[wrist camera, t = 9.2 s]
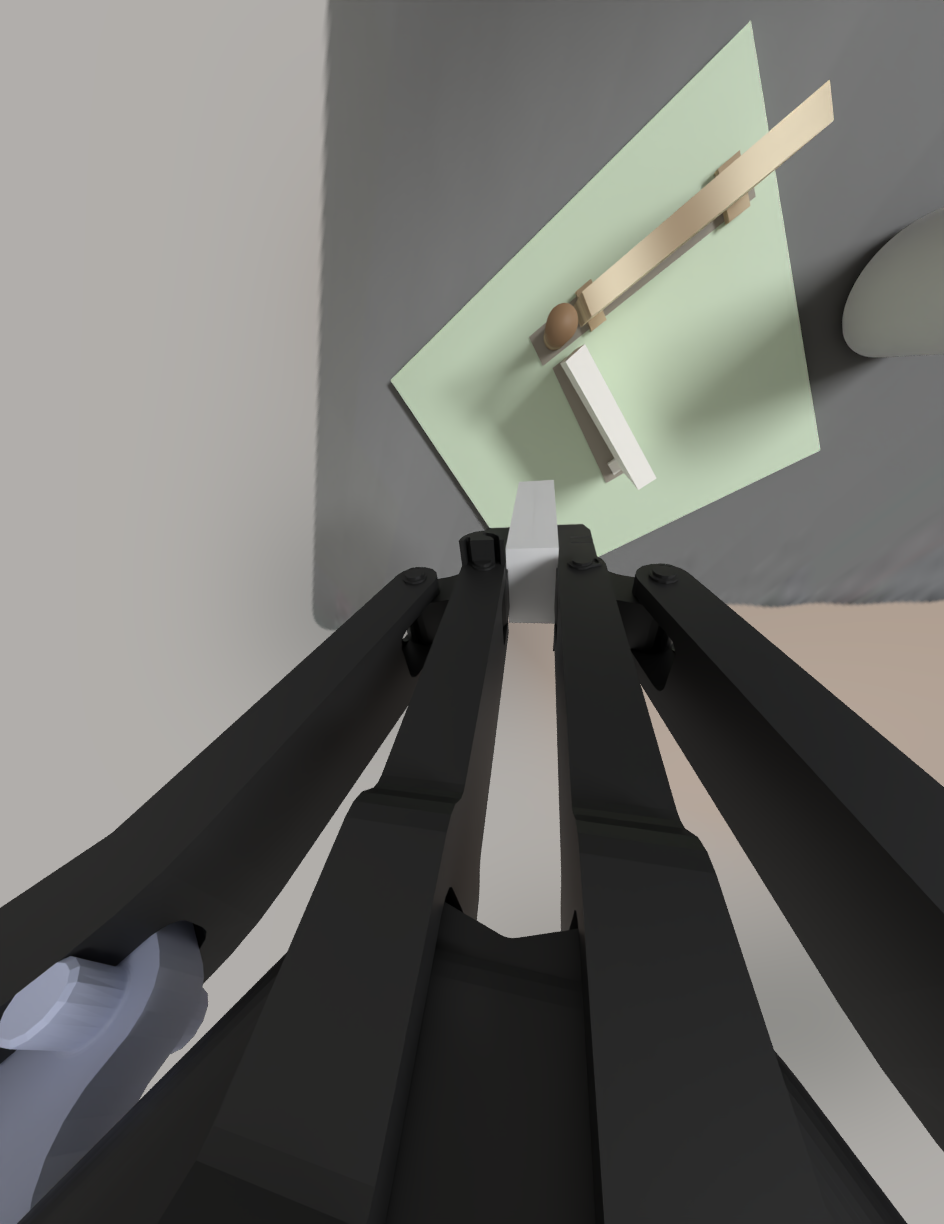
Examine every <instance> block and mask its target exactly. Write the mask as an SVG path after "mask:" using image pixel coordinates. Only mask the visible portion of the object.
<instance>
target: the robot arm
mask: <svg viewBox="0 0 944 1224" xmlns="http://www.w3.org/2000/svg"><path fill="white" fill-rule="evenodd" d="M459 545H460V552H461V560H462V568H461V570H460V573H459V574H458V575H455V576H451V577H447V578H441V579H437V574H436V572H435V571H434V570H433V569H430V568H426V567H415V568H410V569H409V570H406V571H403V572H402V573H400V574H399V575H397V576H396V577H395V578H394V579H393V580H392V581H390V582H389V583H388V584H387V585H386V586H385V587H384V588H383V589H382V590H380V591H379V592H378V593H377V594H376V595H375V596H374V597H373V598H372V599H371V600H369V601H368V602H367V603H366V604H365V605H364V606H363V607H362V608H361V609H359V610H358V611H357V612H356V613H355V614H354V615H353V616H352V617H351V618H349V619H348V620H347V621H346V622H345V623H344V624H343V625H342V626H341V627H340V628H338V629H337V630H336V631H335V632H334V633H333V634H332V635H331V636H330V637H328V638H327V639H326V640H325V641H324V642H323V643H322V644H321V645H320V646H318V647H317V648H316V649H315V650H314V651H313V652H312V653H311V654H310V655H309V656H307V657H306V658H305V659H304V660H303V661H302V662H301V663H300V664H299V665H297V666H296V667H295V668H294V669H293V670H292V671H291V672H290V673H289V674H287V675H286V676H285V677H284V678H283V679H282V680H281V681H280V682H279V683H278V684H276V685H275V686H274V687H273V688H272V689H271V690H270V691H269V692H268V693H267V694H265V695H264V696H263V697H262V698H261V699H260V700H259V701H258V702H257V703H255V704H254V705H253V706H252V707H251V708H250V709H249V710H248V711H247V712H246V713H244V714H243V715H242V716H241V717H240V718H239V719H238V720H237V721H235V723H233V724H232V725H231V726H230V727H229V728H228V729H227V730H226V731H224V732H223V733H222V734H221V735H220V736H219V737H218V738H217V739H216V740H214V741H213V742H212V743H211V744H210V745H209V746H208V747H207V748H206V749H204V750H203V751H202V752H201V753H200V754H199V755H198V756H197V757H196V758H194V759H193V760H192V761H191V762H190V763H189V764H188V765H187V766H186V767H184V768H183V770H181V771H180V772H179V773H178V774H177V775H176V776H175V777H174V778H172V779H171V780H170V781H169V782H168V783H167V784H166V785H165V786H164V787H162V788H161V789H160V790H159V791H158V792H157V793H156V794H155V795H153V796H152V797H151V798H150V799H149V800H148V801H147V802H146V803H145V804H144V805H143V806H141V807H140V808H139V809H138V810H137V811H136V812H135V813H134V814H132V815H131V816H130V817H129V818H128V819H127V820H126V821H125V822H124V823H123V824H121V825H120V826H119V827H118V828H117V829H116V830H115V831H114V832H113V833H111V834H110V835H108V836H107V837H105V838H104V839H102V840H101V841H100V842H98V843H96V844H95V845H94V846H92V847H91V848H89V849H88V850H86V851H85V852H83V853H82V854H80V855H79V856H77V857H76V858H74V859H73V860H71V861H70V862H68V863H67V864H65V865H64V866H62V867H61V868H59V869H58V870H56V871H55V872H53V873H52V874H50V875H49V876H47V877H46V878H44V879H43V880H41V881H40V882H38V883H37V884H35V885H34V886H32V887H31V888H29V889H28V890H26V891H25V892H23V893H22V894H20V895H19V896H17V897H16V898H14V899H13V900H11V901H10V902H8V903H7V904H5V905H4V906H3V907H1V908H0V1224H907V1223H906V1221H905V1220H904V1219H903V1218H902V1216H901V1215H900V1214H899V1212H898V1211H897V1210H896V1208H895V1207H894V1206H893V1204H892V1203H891V1202H890V1200H889V1199H888V1198H887V1196H886V1195H885V1194H884V1192H883V1191H882V1190H881V1188H880V1187H879V1186H878V1185H877V1183H876V1182H875V1180H874V1179H873V1178H872V1177H871V1175H870V1174H869V1173H868V1171H867V1170H866V1169H865V1167H864V1166H863V1165H862V1163H861V1162H860V1161H859V1159H858V1158H857V1157H856V1155H854V1153H853V1152H852V1150H851V1149H850V1147H849V1146H848V1145H847V1143H846V1142H845V1141H844V1140H843V1138H842V1137H841V1136H840V1134H839V1133H838V1132H837V1130H836V1129H835V1128H834V1126H833V1125H832V1124H831V1122H830V1121H829V1120H828V1118H827V1117H826V1116H825V1114H824V1113H823V1112H822V1110H821V1109H820V1108H819V1107H818V1105H817V1104H816V1103H815V1101H814V1100H813V1099H812V1097H811V1096H810V1095H809V1093H808V1092H807V1091H806V1089H805V1088H804V1087H803V1085H802V1084H801V1083H800V1082H799V1080H798V1079H797V1078H796V1076H795V1075H794V1074H793V1073H792V1071H791V1070H790V1069H789V1068H788V1066H787V1065H786V1064H785V1062H784V1061H783V1060H782V1059H781V1058H780V1057H779V1056H778V1055H777V1053H776V1052H775V1051H774V1049H773V1046H772V1043H771V1040H770V1037H769V1034H768V1031H767V1028H766V1025H765V1022H764V1018H763V1015H762V1012H761V1009H760V1006H759V1003H758V1000H757V997H756V994H755V991H754V988H753V985H752V982H751V979H750V976H749V973H748V970H747V967H746V964H745V961H744V958H743V954H742V952H741V948H740V945H739V942H738V939H737V936H736V933H735V930H734V927H733V924H732V921H731V918H730V915H729V912H728V909H727V906H726V903H725V900H724V897H723V894H722V891H721V887H720V884H719V882H718V878H717V875H716V873H715V870H714V868H713V865H712V863H711V860H710V858H709V855H708V853H707V851H706V849H705V848H704V846H703V845H702V843H701V841H700V840H699V838H698V837H697V836H695V835H694V834H692V833H691V832H689V831H688V830H686V829H685V828H684V826H683V824H682V823H681V821H680V818H679V815H678V813H677V810H676V806H675V803H674V800H673V796H672V793H671V789H670V786H669V782H668V778H667V775H666V772H665V768H664V765H663V761H662V758H661V754H660V751H659V747H658V744H657V740H656V737H655V734H654V730H653V727H652V723H651V719H650V716H649V713H648V709H647V706H646V702H645V699H644V695H643V692H642V688H641V686H642V687H643V689H644V690H645V692H646V693H647V695H648V697H649V698H650V700H651V702H652V703H653V705H654V707H655V708H656V710H657V711H658V713H659V715H660V716H661V718H662V719H663V721H664V723H665V724H666V726H667V727H668V729H669V731H670V732H671V734H672V735H673V737H674V739H675V740H676V742H677V743H678V745H679V747H680V748H681V750H682V752H683V753H684V755H685V756H686V758H687V760H688V761H689V763H690V765H691V766H692V767H693V769H694V771H695V772H696V774H697V776H698V777H699V779H700V780H701V782H702V784H703V786H704V787H705V788H706V790H707V792H708V794H709V795H710V797H711V798H712V800H713V802H714V803H715V805H716V807H717V808H718V810H719V811H720V813H721V815H722V816H723V818H724V819H725V821H726V823H727V824H728V826H729V827H730V829H731V830H732V832H733V834H734V835H735V837H736V839H737V840H738V842H739V844H740V845H741V847H742V848H743V850H744V852H745V853H746V855H747V856H748V858H749V860H750V861H751V863H752V864H753V866H754V868H755V869H756V871H757V873H758V874H759V876H760V877H761V879H762V881H763V882H764V884H765V886H766V887H767V889H768V890H769V892H770V893H771V895H772V897H773V898H774V900H775V902H776V903H777V905H778V906H779V908H780V910H781V911H782V913H783V915H784V916H785V918H786V919H787V921H788V923H789V924H790V926H791V927H792V929H793V931H794V932H795V934H796V936H797V937H798V938H799V940H800V942H801V944H802V945H803V947H804V948H805V950H806V952H807V953H808V955H809V956H810V958H811V960H812V961H813V963H814V964H815V966H816V968H817V969H818V971H819V973H820V974H821V976H822V977H823V979H824V981H825V982H826V984H827V986H828V987H829V989H830V990H831V992H832V994H833V995H834V997H835V998H836V1000H837V1002H838V1003H839V1005H840V1006H841V1008H842V1009H843V1011H844V1012H845V1014H846V1015H847V1017H848V1018H849V1020H850V1021H851V1023H852V1024H853V1026H854V1028H855V1029H856V1030H857V1032H858V1034H859V1035H860V1037H861V1038H862V1040H863V1041H864V1043H865V1044H866V1046H867V1047H868V1049H869V1050H870V1052H871V1053H872V1055H873V1056H874V1058H875V1059H876V1061H877V1062H878V1064H879V1065H880V1067H881V1068H882V1070H883V1071H884V1072H885V1074H886V1075H887V1076H888V1078H889V1079H890V1081H891V1082H892V1083H893V1084H894V1086H895V1087H896V1088H897V1090H898V1091H899V1093H900V1094H901V1095H902V1097H903V1098H904V1099H905V1101H906V1102H907V1104H908V1105H909V1106H910V1108H911V1109H912V1110H913V1112H914V1113H915V1114H916V1116H917V1117H918V1118H919V1120H920V1121H921V1122H922V1124H923V1125H924V1127H925V1128H926V1129H927V1131H928V1132H929V1133H930V1135H931V1136H932V1137H933V1139H934V1140H935V1142H936V1143H937V1144H938V1145H939V1147H940V1148H941V1149H942V1150H943V1151H944V787H943V786H942V785H940V784H939V783H938V782H937V781H936V780H935V779H933V778H932V777H931V776H930V775H929V774H928V773H926V772H925V771H924V770H923V769H922V768H920V767H919V766H918V765H917V764H915V763H914V762H913V761H912V760H911V759H910V758H908V757H907V756H906V755H905V754H904V753H903V752H901V751H900V750H899V749H898V748H897V747H895V746H894V745H893V744H892V743H891V742H889V741H888V740H887V739H886V738H885V737H883V736H882V735H881V734H880V733H879V732H877V731H876V730H875V729H874V728H872V726H870V725H869V724H868V723H867V722H866V721H864V720H863V719H862V718H861V717H860V716H858V715H857V714H856V713H855V712H854V711H852V710H851V709H850V708H849V707H847V705H845V704H844V703H843V702H842V701H841V700H839V699H838V698H837V697H836V696H834V695H833V694H832V693H831V692H830V691H828V690H827V689H826V688H825V687H824V686H823V685H822V684H820V683H819V682H818V681H817V680H816V679H814V678H813V677H812V676H811V675H810V674H808V673H807V672H806V671H805V670H804V669H802V668H801V667H800V666H799V665H798V664H796V663H795V662H794V661H793V660H792V659H791V658H789V657H788V656H787V655H786V654H785V653H783V652H782V651H781V650H780V649H779V648H777V647H776V646H775V645H774V644H772V643H771V642H770V641H769V640H768V639H767V638H766V637H764V636H763V635H762V634H761V633H760V632H758V631H757V630H756V629H755V628H754V627H752V626H751V625H750V624H749V623H748V622H746V621H745V620H744V619H743V618H742V617H740V616H739V615H738V614H737V613H736V612H734V611H733V610H732V609H731V608H730V607H729V606H727V605H726V604H725V603H724V602H723V601H721V600H720V599H719V598H718V597H717V596H715V595H714V594H713V593H712V592H711V591H710V590H708V589H707V588H706V587H705V586H704V585H702V584H701V583H700V582H699V581H698V580H696V579H695V578H694V577H693V576H692V575H690V574H689V573H688V572H686V571H684V570H683V569H681V568H678V567H675V566H673V565H669V564H666V565H665V564H650V565H646V566H642V567H641V568H639V569H637V571H636V574H635V577H629V576H623V575H618V574H615V573H612V572H609V571H608V570H607V566H606V564H605V562H604V561H603V560H602V559H601V558H599V557H597V554H596V550H595V546H594V543H593V539H592V535H591V531H590V529H589V528H587V527H586V526H585V525H583V524H567V525H557V516H556V503H555V489H554V480H541V481H524V482H519V484H518V489H517V494H516V499H515V504H514V509H513V514H512V519H511V524H510V527H505V528H488V529H487V530H485V531H479V532H473V533H470V534H467V535H465V536H463V537H462V538H461V539H460V540H459ZM508 616H509V622H512V623H513V622H514V623H553V624H555V625H554V645H553V651H555V679H556V714H557V747H558V778H559V779H558V780H559V811H560V843H561V844H560V847H561V931H560V932H553V933H547V934H540V935H533V936H527V937H520V938H507V937H504V936H502V935H500V934H498V933H497V932H495V931H493V930H492V929H490V928H488V927H486V926H485V925H483V924H481V923H480V922H478V921H477V911H478V902H479V883H480V880H479V878H480V873H479V872H480V857H481V848H482V840H483V833H484V824H485V817H486V809H487V801H488V793H489V784H490V777H491V768H492V761H493V753H494V745H495V737H496V728H497V720H498V712H499V705H500V697H501V689H502V681H503V673H504V664H505V656H506V649H507V641H508V633H509V632H508V631H509V630H508ZM406 630H407V633H408V634H407V635H406V637H405V638H404V639H403V636H404V634H405V632H406ZM640 684H641V685H640ZM407 706H408V708H407ZM406 708H407V710H406V713H405V716H404V718H403V721H402V724H401V726H400V729H399V731H398V734H397V736H396V739H395V742H394V744H393V747H392V749H391V752H390V755H389V757H388V760H387V762H386V765H385V768H384V770H383V773H382V776H381V777H380V779H379V782H378V783H377V784H376V785H375V787H374V788H371V789H369V790H366V791H363V792H361V793H360V795H359V796H358V797H357V798H356V799H355V800H354V802H353V803H352V805H351V807H350V809H349V811H348V813H347V815H346V817H345V819H344V821H343V824H342V826H341V828H340V830H339V833H338V835H337V838H336V840H335V842H334V844H333V847H332V849H331V852H330V854H329V856H328V858H327V861H326V863H325V865H324V868H323V870H322V872H321V875H320V877H319V879H318V882H317V884H316V886H315V889H314V891H313V893H312V896H311V898H310V901H309V903H308V905H307V907H306V910H305V912H304V914H303V917H302V919H301V922H300V924H299V926H298V928H297V931H296V933H295V935H294V938H293V940H292V942H291V945H290V947H289V950H288V952H287V953H286V954H285V955H284V956H283V957H282V958H281V959H280V960H279V961H278V962H277V963H276V964H275V965H274V966H273V967H272V968H271V969H270V970H269V971H268V972H267V973H266V974H265V975H264V976H263V977H262V978H261V979H260V980H259V981H258V982H257V983H256V984H255V985H254V986H253V987H252V988H251V989H250V990H249V991H248V992H247V993H246V994H245V995H244V996H243V997H242V998H241V999H240V1000H239V1001H238V1002H237V1003H236V1004H235V1005H234V1006H233V1007H232V1008H231V1009H230V1010H229V1011H228V1012H227V1013H226V1014H225V1015H224V1016H223V1017H222V1018H221V1019H220V1020H219V1021H218V1022H217V1023H216V1024H215V1025H214V1026H213V1027H212V1028H211V1029H210V1030H209V1031H208V1032H207V1033H206V1034H205V1035H204V1036H203V1037H202V1038H201V1039H200V1040H199V1041H198V1042H197V1043H196V1044H195V1045H194V1046H193V1047H192V1048H191V1049H190V1050H189V1051H188V1052H187V1053H186V1054H185V1055H184V1056H183V1057H182V1058H181V1059H180V1060H179V1061H178V1062H177V1063H176V1064H175V1065H174V1066H173V1067H172V1068H171V1069H170V1070H169V1071H168V1072H167V1073H166V1074H165V1075H164V1076H163V1077H162V1079H160V1080H159V1081H158V1082H157V1083H156V1084H155V1085H154V1086H153V1087H152V1089H150V1091H148V1092H147V1093H146V1094H145V1095H144V1096H143V1097H142V1098H141V1099H140V1097H141V1095H142V1094H143V1092H144V1090H145V1088H146V1087H147V1085H148V1083H149V1082H150V1081H151V1079H152V1078H153V1077H154V1075H155V1074H156V1073H157V1071H158V1070H159V1068H160V1067H161V1066H162V1064H163V1063H164V1062H165V1060H166V1059H167V1058H168V1056H169V1055H170V1054H172V1053H174V1052H176V1051H178V1050H180V1049H182V1048H183V1047H184V1046H185V1045H186V1044H187V1043H188V1042H189V1041H190V1040H191V1039H192V1038H193V1037H194V1035H195V1034H196V1032H197V1030H198V1028H199V1027H200V1025H201V1024H202V1022H203V1019H204V1016H205V1013H206V1010H207V1007H208V994H207V992H206V991H205V990H204V988H203V987H202V986H203V983H204V982H205V981H206V980H207V979H208V978H209V977H210V976H211V975H212V974H213V973H214V972H215V971H216V970H217V969H218V968H219V967H220V966H221V965H222V963H224V961H225V960H226V959H227V958H228V957H229V956H230V955H231V954H232V953H233V952H234V950H235V949H236V948H237V947H238V946H239V945H240V943H241V942H242V941H243V940H244V939H245V937H246V936H247V935H248V934H249V933H250V931H251V930H252V929H253V928H254V927H255V926H256V924H257V923H258V922H259V921H260V919H261V918H262V917H263V915H264V914H265V913H266V911H267V910H268V908H269V907H270V906H271V904H272V903H273V901H274V900H275V899H276V897H277V896H278V895H279V893H280V892H281V891H282V889H283V888H284V887H285V885H286V884H287V882H288V881H289V879H290V878H291V876H292V875H293V873H294V872H295V870H296V869H297V868H298V866H299V865H300V863H301V862H302V860H303V859H304V857H305V856H306V854H307V853H308V851H309V850H310V848H311V847H312V846H313V844H314V842H315V841H316V840H317V838H318V837H319V835H320V834H321V832H322V831H323V829H324V828H325V826H326V825H327V823H328V822H329V821H330V819H331V817H332V816H333V815H334V813H335V812H336V810H337V809H338V807H339V806H340V804H341V803H342V801H343V800H344V799H345V797H346V796H347V794H348V793H349V791H350V790H351V788H352V787H353V785H354V784H355V783H356V781H357V780H358V778H359V777H360V775H361V774H362V772H363V770H364V769H365V768H366V766H367V765H368V764H369V762H370V761H371V759H372V758H373V756H374V755H375V753H376V752H377V750H378V748H379V747H380V746H381V744H382V743H383V742H384V740H385V738H386V737H387V735H388V734H389V733H390V731H391V730H392V728H393V727H394V725H395V724H396V722H397V721H398V720H399V718H400V716H401V715H402V714H403V712H404V711H405V709H406ZM139 1099H140V1100H139Z"/></svg>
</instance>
